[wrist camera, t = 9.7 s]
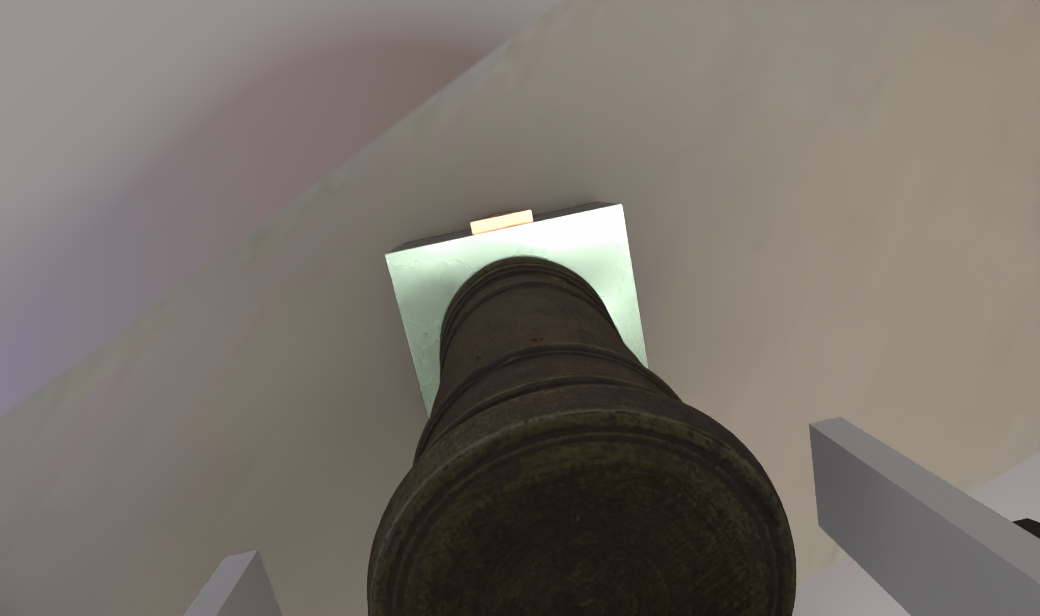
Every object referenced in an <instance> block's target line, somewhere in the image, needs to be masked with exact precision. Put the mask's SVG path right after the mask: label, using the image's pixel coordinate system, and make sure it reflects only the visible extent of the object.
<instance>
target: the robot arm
mask: <svg viewBox="0 0 1040 616" xmlns="http://www.w3.org/2000/svg"><path fill="white" fill-rule="evenodd" d="M809 427H810V438H811V449H812V459H813V470H814V481H815V491H816V502H817V513H818V524H819V526H820V527H821V528H822V529H823V530H824V531H825V532H826V533H827V534H828V535H829V536H830V537H831V538H832V539H833V540H834V541H835V542H836V543H837V544H838V545H839V546H840V547H841V548H842V549H843V550H844V551H845V552H847V553H848V554H849V555H850V556H851V557H852V558H853V559H854V560H855V561H856V562H857V563H858V564H859V565H860V566H861V567H862V568H863V569H864V570H865V571H866V572H867V573H868V574H869V575H870V576H871V577H872V578H873V579H874V580H875V581H876V582H877V583H878V584H879V585H880V586H881V587H883V589H885V590H886V591H887V592H888V593H889V594H890V595H891V596H892V597H893V598H894V599H895V600H896V601H897V602H898V603H899V604H900V605H901V606H902V607H903V608H904V609H905V610H906V611H907V612H908V613H909V614H910V615H911V616H1040V523H1039V522H1036V521H1034V520H1031V519H1028V518H1026V519H1022V520H1018V521H1013V522H1011V521H1010V520H1008V519H1006V518H1004V517H1003V516H1001V515H1000V514H998V513H996V512H995V511H993V510H991V509H990V508H988V507H987V506H985V505H983V504H982V503H980V502H979V501H977V500H975V499H973V498H972V497H970V496H968V495H967V494H965V493H964V492H962V491H961V490H959V489H957V488H956V487H954V486H952V485H951V484H949V483H948V482H946V481H944V480H943V479H941V478H939V477H938V476H936V475H934V474H933V473H931V472H930V471H928V470H926V469H925V468H923V467H921V466H920V465H918V464H917V463H915V462H913V461H912V460H910V459H908V458H907V457H905V456H903V455H902V454H900V453H899V452H897V451H895V450H894V449H892V448H890V447H889V446H887V445H885V444H884V443H882V442H881V441H879V440H877V439H876V438H874V437H872V436H871V435H869V434H868V433H866V432H864V431H863V430H861V429H859V428H858V427H856V426H854V425H853V424H851V423H850V422H848V421H846V420H845V419H843V418H841V417H838V418H833V419H829V420H825V421H820V422H816V423H811V424H809ZM183 616H282V614H281V612H280V609H279V606H278V603H277V601H276V598H275V595H274V592H273V590H272V587H271V584H270V581H269V579H268V576H267V573H266V570H265V568H264V565H263V562H262V559H261V556H260V554H259V551H258V550H254V551H250V552H245V553H241V554H236V555H232V556H228V557H225V558H224V559H223V560H222V562H221V563H220V565H219V566H218V567H217V569H216V570H215V572H214V573H213V574H212V576H211V577H210V579H209V580H208V581H207V583H206V584H205V586H204V587H203V588H202V590H201V591H200V593H199V594H198V595H197V597H196V598H195V600H194V601H193V602H192V604H191V605H190V607H189V608H188V609H187V611H186V612H185V614H184V615H183Z"/></svg>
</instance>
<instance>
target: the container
mask: <svg viewBox="0 0 1040 616" xmlns="http://www.w3.org/2000/svg"><path fill="white" fill-rule="evenodd" d="M439 360H440V384H439V388H438V391H437V394H436V397H435V400H434V403H433V407H432V411H431V414H430V418H429V420H428V422H427V424H426V426H425V428H424V430H423V433H422V435H421V437H420V440H419V443H418V446H417V449H416V453H415V458H414V463H413V467H412V469H411V470H410V471H409V472H408V474H407V475H406V476H405V477H404V479H403V480H402V482H401V483H400V485H399V486H398V488H397V489H396V491H395V492H394V494H393V496H392V498H391V499H390V501H389V503H388V505H387V507H386V509H385V511H384V513H383V516H382V518H381V521H380V524H379V526H378V529H377V531H376V534H375V538H374V541H373V545H372V549H371V554H370V559H369V566H368V576H367V600H368V616H792V612H793V608H794V601H795V593H796V557H795V549H794V544H793V539H792V535H791V530H790V527H789V523H788V519H787V516H786V513H785V511H784V508H783V505H782V503H781V500H780V498H779V496H778V494H777V492H776V490H775V488H774V486H773V484H772V482H771V480H770V479H769V477H768V475H767V474H766V472H765V470H764V469H763V467H762V466H761V464H760V463H759V462H758V461H757V459H756V458H755V456H754V455H753V454H752V453H751V452H750V451H749V450H748V448H747V447H746V446H745V445H744V444H743V443H742V442H741V441H740V440H739V439H738V438H737V437H736V436H735V435H734V434H732V433H731V432H730V431H729V430H727V429H726V428H725V427H723V426H722V425H721V424H719V423H718V422H717V421H715V420H714V419H712V418H711V417H709V416H708V415H706V414H704V413H703V412H701V411H699V410H697V409H695V408H693V407H691V406H689V405H687V404H685V403H683V402H682V401H681V399H680V398H679V397H678V396H677V395H676V394H675V392H674V391H673V390H672V389H671V388H670V387H669V386H668V385H667V384H666V383H665V382H664V381H663V380H662V379H660V378H659V377H658V376H657V375H656V374H654V373H653V372H651V371H650V370H649V369H647V368H646V367H645V366H644V365H643V364H642V363H641V362H640V361H639V359H638V358H637V357H636V355H635V354H634V353H633V352H632V351H631V350H630V349H629V348H628V347H627V346H626V345H625V343H624V342H623V340H622V337H621V335H620V333H619V331H618V329H617V328H616V326H615V324H614V322H613V320H612V318H611V316H610V314H609V312H608V310H607V308H606V306H605V304H604V302H603V301H602V299H601V298H600V296H599V295H598V293H597V292H596V291H595V290H594V288H593V287H592V286H591V285H590V284H589V283H588V282H587V281H586V280H584V279H583V278H582V277H581V276H579V275H578V274H577V273H575V272H574V271H572V270H570V269H569V268H567V267H565V266H563V265H560V264H558V263H555V262H552V261H549V260H545V259H540V258H533V257H513V258H507V259H503V260H500V261H497V262H494V263H492V264H489V265H487V266H485V267H484V268H482V269H480V270H479V271H478V272H476V273H475V274H474V275H473V276H471V277H470V278H469V279H468V280H467V281H466V282H465V283H464V284H463V285H462V287H461V288H460V289H459V290H458V291H457V292H456V294H455V295H454V297H453V298H452V300H451V302H450V304H449V306H448V308H447V310H446V313H445V316H444V319H443V322H442V327H441V333H440V349H439Z"/></svg>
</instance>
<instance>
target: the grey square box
mask: <svg viewBox="0 0 1040 616" xmlns="http://www.w3.org/2000/svg"><path fill="white" fill-rule="evenodd" d="M470 224H471V229H469V230H464V231H459V232H455V233H450V234H445V235H441V236H436V237H431V238H427V239H422V240H417V241H412V242H408V243H404V244H402V245H401V246H399V247H397V248H395V249H394V250H392V251H390V252H388V253H387V254H385V257H386V261H387V264H388V268H389V272H390V276H391V279H392V283H393V287H394V291H395V294H396V298H397V302H398V306H399V310H400V313H401V317H402V321H403V325H404V328H405V332H406V336H407V340H408V343H409V347H410V351H411V355H412V358H413V362H414V366H415V370H416V374H417V377H418V381H419V385H420V389H421V392H422V396H423V400H424V404H425V407H426V411H427V415H428V419H429V418H430V414H431V411H432V407H433V403H434V400H435V397H436V394H437V391H438V388H439V384H440V360H439V349H440V333H441V327H442V322H443V319H444V316H445V313H446V310H447V308H448V306H449V304H450V302H451V300H452V298H453V297H454V295H455V294H456V292H457V291H458V290H459V289H460V288H461V287H462V285H463V284H464V283H465V282H466V281H467V280H468V279H469V278H470V277H471V276H473V275H474V274H475V273H476V272H478V271H479V270H480V269H482V268H484V267H485V266H487V265H489V264H492V263H494V262H497V261H500V260H503V259H507V258H513V257H533V258H540V259H545V260H549V261H552V262H555V263H558V264H560V265H563V266H565V267H567V268H569V269H570V270H572V271H574V272H575V273H577V274H578V275H579V276H581V277H582V278H583V279H584V280H586V281H587V282H588V283H589V284H590V285H591V286H592V287H593V288H594V290H595V291H596V292H597V293H598V295H599V296H600V298H601V299H602V301H603V302H604V304H605V306H606V308H607V310H608V312H609V314H610V316H611V318H612V320H613V322H614V324H615V326H616V328H617V329H618V331H619V333H620V335H621V337H622V340H623V342H624V343H625V345H626V346H627V347H628V348H629V349H630V350H631V351H632V352H633V353H634V354H635V355H636V357H637V358H638V359H639V361H640V362H641V363H642V364H643V365H644V366H645V367H646V368H647V369H648V364H647V358H646V352H645V345H644V339H643V333H642V327H641V321H640V314H639V308H638V302H637V296H636V289H635V283H634V277H633V271H632V265H631V258H630V252H629V246H628V240H627V234H626V227H625V221H624V215H623V209H622V204H615V203H605V202H596V203H591V204H586V205H582V206H577V207H572V208H567V209H563V210H558V211H553V212H549V213H544V214H539V215H535V216H532V213H531V210H530V209H528V210H523V211H518V212H514V213H511V212H510V211H507V212H502V213H498V214H493V215H490V217H489V218H486V219H481V220H476V221H471V222H470Z"/></svg>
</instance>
